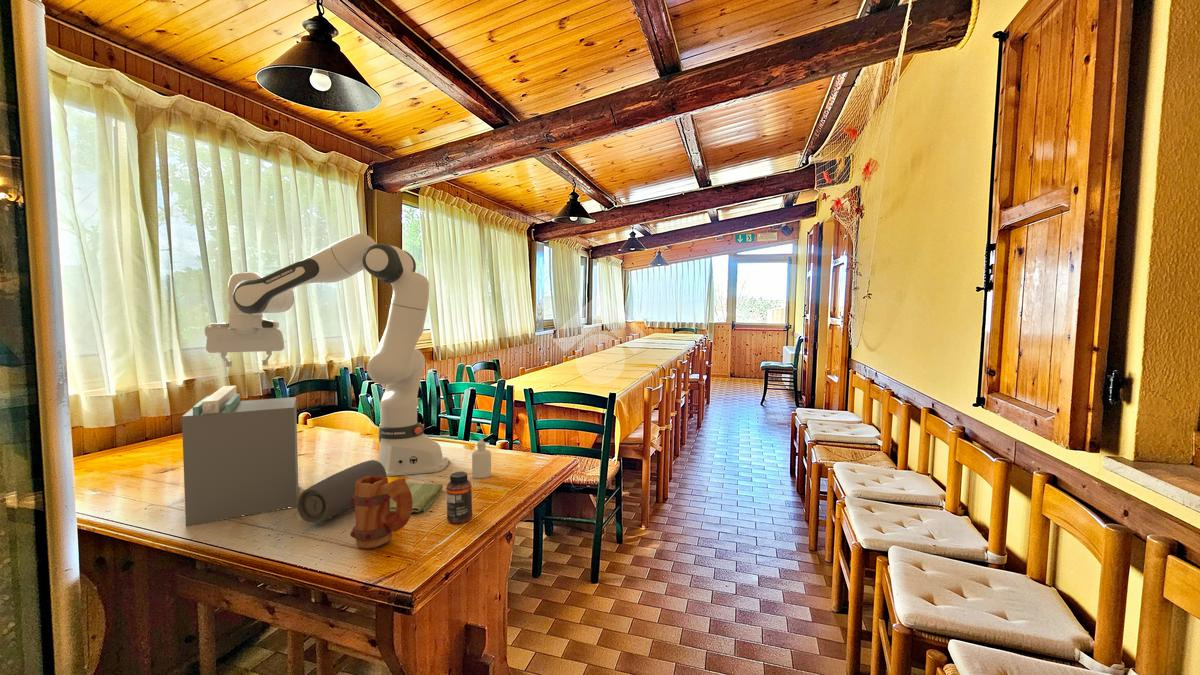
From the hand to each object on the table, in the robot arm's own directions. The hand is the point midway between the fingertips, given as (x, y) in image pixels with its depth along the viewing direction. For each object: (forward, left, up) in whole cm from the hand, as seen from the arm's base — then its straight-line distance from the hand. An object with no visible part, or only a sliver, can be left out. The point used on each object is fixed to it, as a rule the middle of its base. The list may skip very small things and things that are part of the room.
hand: (247, 366), depth 154 cm
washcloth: (-60, +34, -34) cm, 77 cm away
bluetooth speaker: (-45, +38, -33) cm, 68 cm away
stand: (-18, +32, -33) cm, 49 cm away
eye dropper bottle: (-76, +16, -33) cm, 85 cm away
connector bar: (-11, +30, -7) cm, 33 cm away
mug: (-61, +59, -33) cm, 91 cm away
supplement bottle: (-75, +47, -33) cm, 94 cm away
